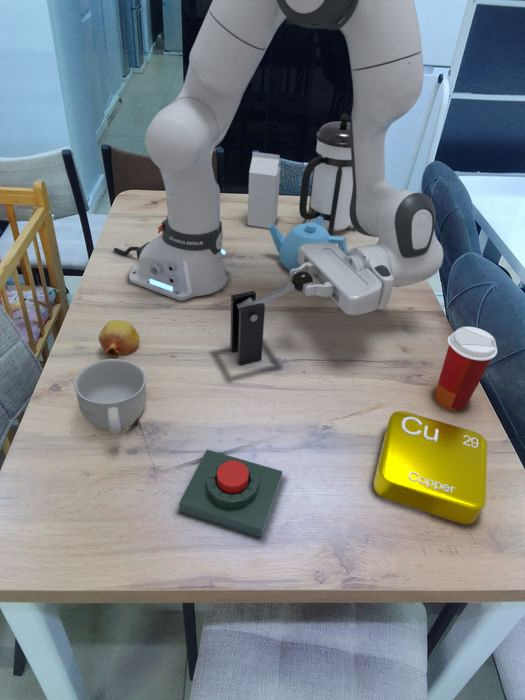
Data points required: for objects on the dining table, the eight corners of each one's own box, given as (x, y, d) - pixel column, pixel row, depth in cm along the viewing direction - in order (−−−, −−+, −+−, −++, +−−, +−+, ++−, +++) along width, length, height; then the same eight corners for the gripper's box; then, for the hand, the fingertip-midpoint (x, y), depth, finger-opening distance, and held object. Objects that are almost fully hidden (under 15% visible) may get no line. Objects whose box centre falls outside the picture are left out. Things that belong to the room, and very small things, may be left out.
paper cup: (472, 391, 93) (499, 331, 84) (472, 420, 87) (500, 359, 78) (429, 380, 95) (451, 320, 86) (426, 408, 89) (448, 346, 80)
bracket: (261, 342, 101) (264, 283, 92) (277, 367, 95) (283, 307, 86) (213, 353, 97) (212, 293, 89) (228, 380, 92) (228, 318, 83)
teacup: (89, 391, 88) (81, 357, 83) (152, 390, 89) (148, 355, 84) (73, 456, 77) (62, 420, 72) (145, 453, 78) (139, 418, 73)
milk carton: (272, 229, 139) (277, 160, 127) (247, 225, 140) (249, 156, 128) (276, 218, 145) (281, 151, 133) (252, 215, 146) (255, 147, 133)
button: (212, 488, 70) (212, 481, 69) (223, 464, 73) (223, 456, 72) (242, 498, 69) (242, 490, 68) (252, 472, 72) (252, 465, 71)
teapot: (292, 285, 118) (297, 244, 111) (265, 255, 128) (267, 215, 121) (347, 273, 123) (355, 233, 116) (317, 245, 133) (322, 207, 126)
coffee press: (300, 213, 148) (312, 102, 129) (355, 218, 147) (375, 108, 128) (295, 240, 135) (307, 122, 116) (355, 247, 134) (377, 128, 115)
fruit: (103, 309, 97) (85, 341, 89) (136, 305, 96) (122, 336, 88) (116, 338, 101) (100, 370, 93) (148, 334, 100) (135, 366, 92)
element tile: (370, 495, 74) (376, 475, 71) (387, 424, 85) (393, 404, 82) (475, 530, 71) (487, 510, 68) (479, 451, 82) (489, 432, 79)
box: (179, 512, 71) (178, 495, 68) (207, 458, 78) (206, 441, 76) (261, 538, 68) (262, 522, 66) (281, 480, 76) (283, 463, 73)
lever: (308, 279, 93) (304, 263, 90) (318, 290, 90) (314, 273, 87) (239, 314, 91) (233, 298, 88) (247, 326, 89) (241, 310, 86)
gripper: (338, 230, 100) (274, 240, 95) (399, 283, 85) (327, 297, 81) (334, 259, 104) (272, 269, 99) (391, 313, 89) (322, 329, 85)
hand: (297, 282), depth 90 cm, fingers closed on lever, 4 cm apart
